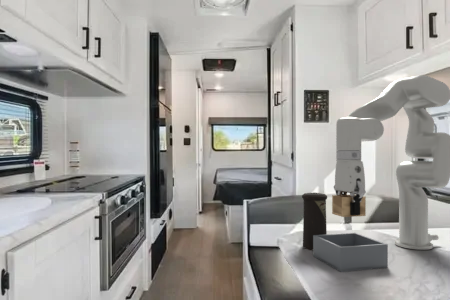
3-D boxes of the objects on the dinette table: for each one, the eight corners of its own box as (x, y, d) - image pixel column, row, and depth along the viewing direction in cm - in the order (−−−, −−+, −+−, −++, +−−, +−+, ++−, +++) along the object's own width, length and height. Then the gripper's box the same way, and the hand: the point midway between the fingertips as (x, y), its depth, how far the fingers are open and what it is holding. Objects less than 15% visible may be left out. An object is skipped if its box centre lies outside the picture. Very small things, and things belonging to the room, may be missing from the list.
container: (328, 251, 123) (328, 194, 123) (302, 249, 125) (302, 193, 125) (326, 245, 131) (326, 191, 132) (301, 243, 133) (301, 191, 133)
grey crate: (355, 253, 121) (355, 232, 121) (387, 267, 105) (387, 244, 106) (313, 256, 117) (313, 235, 117) (340, 272, 101) (340, 247, 101)
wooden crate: (353, 212, 115) (353, 194, 115) (365, 215, 109) (365, 196, 109) (332, 213, 113) (332, 195, 113) (342, 217, 107) (342, 197, 107)
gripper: (377, 156, 104) (377, 217, 104) (343, 156, 121) (343, 208, 121) (355, 156, 102) (355, 218, 102) (323, 156, 119) (323, 209, 119)
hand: (348, 212), depth 111 cm, fingers closed on wooden crate, 6 cm apart
